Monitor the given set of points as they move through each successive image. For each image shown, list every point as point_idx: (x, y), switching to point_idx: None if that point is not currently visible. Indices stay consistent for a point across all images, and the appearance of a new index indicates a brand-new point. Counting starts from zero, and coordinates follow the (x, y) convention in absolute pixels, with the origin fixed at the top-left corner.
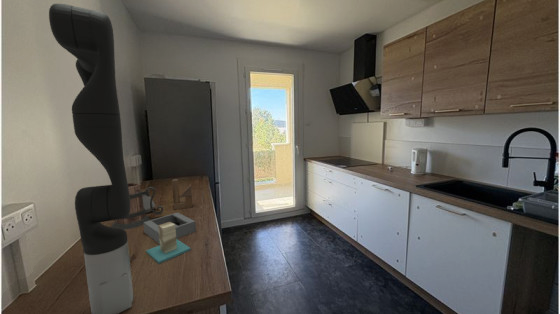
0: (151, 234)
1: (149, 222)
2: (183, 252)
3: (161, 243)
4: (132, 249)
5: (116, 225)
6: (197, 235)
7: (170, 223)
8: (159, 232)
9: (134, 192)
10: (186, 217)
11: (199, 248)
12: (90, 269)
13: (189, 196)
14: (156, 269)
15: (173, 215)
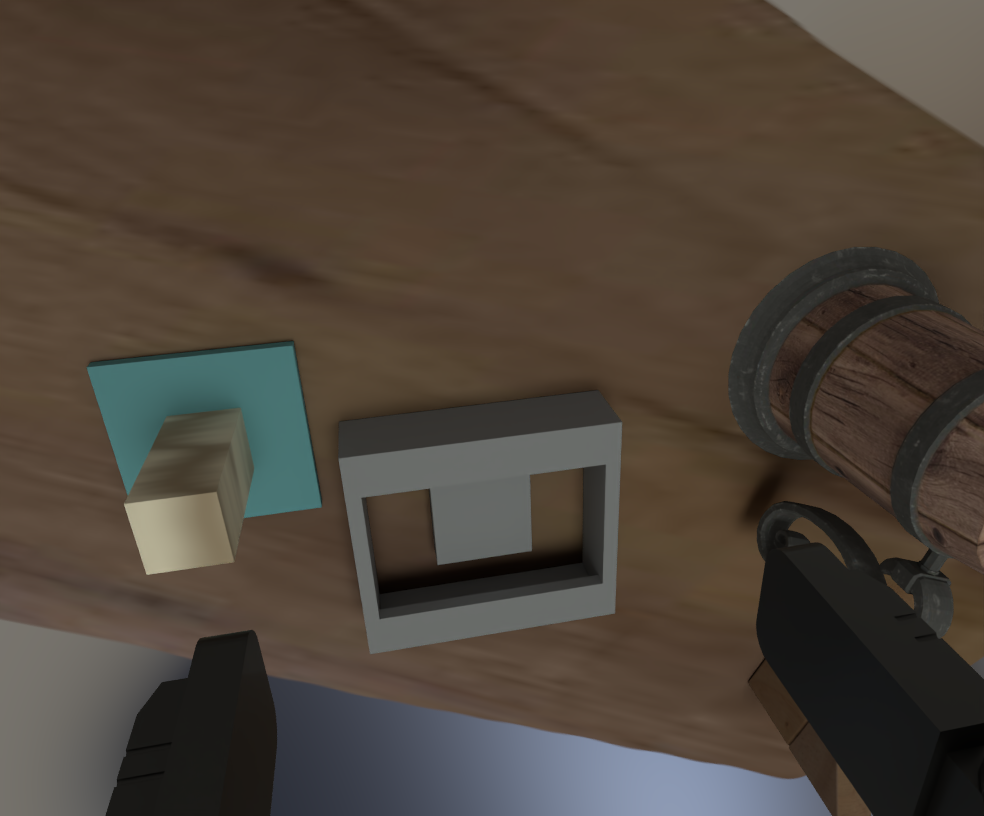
0: (476, 416)
1: (584, 450)
2: (129, 490)
3: (204, 434)
4: (398, 288)
5: (834, 277)
6: (305, 597)
7: (194, 557)
8: (212, 467)
9: (927, 511)
10: (476, 632)
11: (128, 562)
12: None
13: (797, 737)
14: (30, 337)
15: (588, 584)
